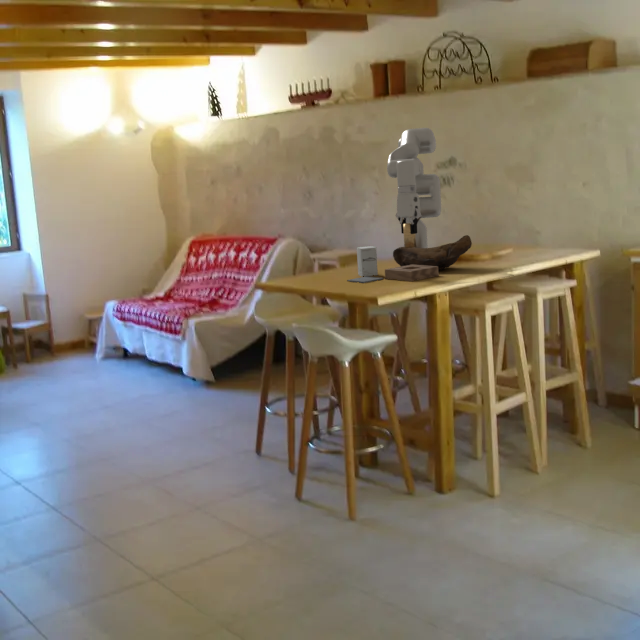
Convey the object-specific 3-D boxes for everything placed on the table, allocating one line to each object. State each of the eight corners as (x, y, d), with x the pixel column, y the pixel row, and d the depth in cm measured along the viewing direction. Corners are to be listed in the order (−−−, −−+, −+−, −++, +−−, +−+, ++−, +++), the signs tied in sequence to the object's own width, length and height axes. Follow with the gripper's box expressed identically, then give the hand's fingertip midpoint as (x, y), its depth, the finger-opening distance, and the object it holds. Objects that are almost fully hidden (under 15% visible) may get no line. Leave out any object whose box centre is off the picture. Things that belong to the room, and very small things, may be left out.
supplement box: (362, 277, 363) (360, 248, 361) (358, 275, 370) (356, 247, 368) (378, 275, 364) (376, 246, 362) (373, 273, 371) (372, 245, 369)
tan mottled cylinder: (410, 245, 352) (409, 222, 350) (418, 246, 348) (417, 222, 346) (401, 247, 349) (400, 223, 347) (410, 248, 345) (408, 224, 343)
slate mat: (366, 277, 360) (366, 276, 360) (383, 279, 351) (383, 277, 351) (347, 281, 353) (347, 280, 353) (363, 283, 344) (363, 281, 344)
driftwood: (478, 268, 362) (477, 234, 359) (454, 274, 349) (452, 239, 346) (413, 265, 388) (411, 233, 385) (388, 271, 375) (386, 238, 372)
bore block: (412, 273, 362) (412, 264, 361) (438, 275, 349) (438, 266, 348) (385, 278, 352) (384, 269, 351) (411, 281, 340) (410, 271, 339)
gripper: (427, 188, 339) (430, 232, 343) (399, 189, 353) (402, 231, 356) (414, 190, 335) (417, 235, 339) (386, 191, 348) (389, 233, 352)
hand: (409, 232), depth 347 cm, fingers closed on tan mottled cylinder, 5 cm apart
